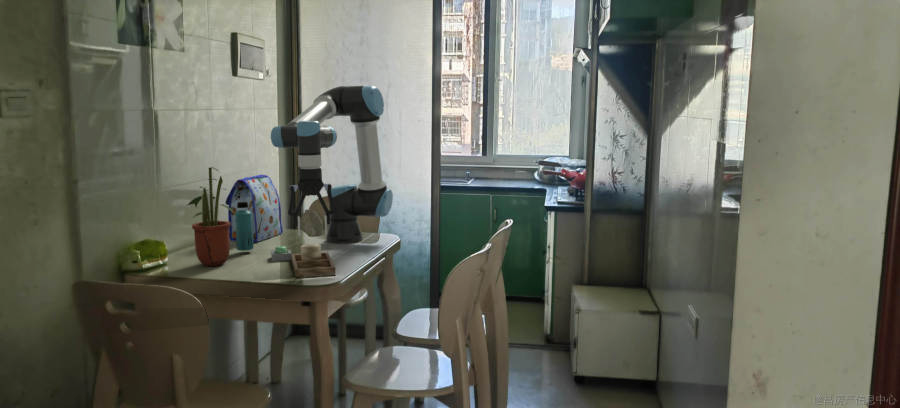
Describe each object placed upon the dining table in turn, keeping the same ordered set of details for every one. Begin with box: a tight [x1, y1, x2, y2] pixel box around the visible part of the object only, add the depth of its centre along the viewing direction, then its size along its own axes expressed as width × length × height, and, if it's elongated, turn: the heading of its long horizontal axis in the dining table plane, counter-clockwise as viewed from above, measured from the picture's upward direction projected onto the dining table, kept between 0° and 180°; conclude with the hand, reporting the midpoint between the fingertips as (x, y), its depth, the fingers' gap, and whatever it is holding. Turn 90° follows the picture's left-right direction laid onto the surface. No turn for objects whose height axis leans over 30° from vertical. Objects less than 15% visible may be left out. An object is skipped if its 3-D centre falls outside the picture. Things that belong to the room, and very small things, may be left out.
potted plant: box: [185, 166, 235, 267], centre depth 246 cm, size 17×16×35 cm
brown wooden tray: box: [291, 251, 336, 280], centre depth 241 cm, size 13×25×3 cm, turn 16°
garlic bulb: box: [300, 209, 324, 238], centre depth 233 cm, size 9×8×10 cm
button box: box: [270, 249, 293, 262], centre depth 254 cm, size 7×7×4 cm
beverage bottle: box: [235, 202, 255, 252], centre depth 269 cm, size 6×7×20 cm
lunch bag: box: [225, 174, 283, 243], centre depth 299 cm, size 23×17×27 cm
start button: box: [274, 245, 288, 254], centre depth 254 cm, size 4×4×4 cm
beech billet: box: [300, 243, 322, 261], centre depth 247 cm, size 7×7×6 cm
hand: (312, 234), depth 234 cm, fingers closed on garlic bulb, 8 cm apart
